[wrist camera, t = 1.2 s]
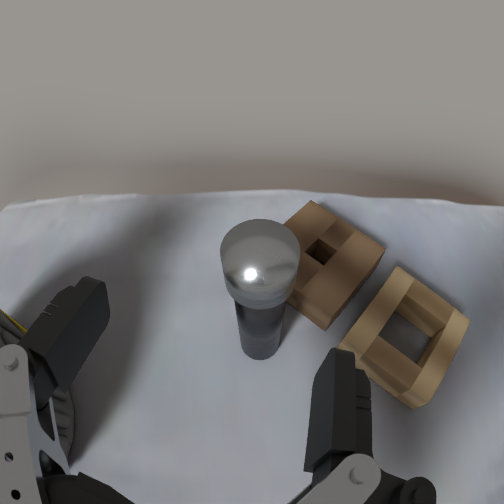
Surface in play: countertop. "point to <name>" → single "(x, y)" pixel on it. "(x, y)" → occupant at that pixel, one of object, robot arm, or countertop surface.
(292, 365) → the countertop surface
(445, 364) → the oak block
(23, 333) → the decorative lamp
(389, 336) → the countertop surface
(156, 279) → the countertop surface
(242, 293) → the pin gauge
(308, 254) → the walnut block
